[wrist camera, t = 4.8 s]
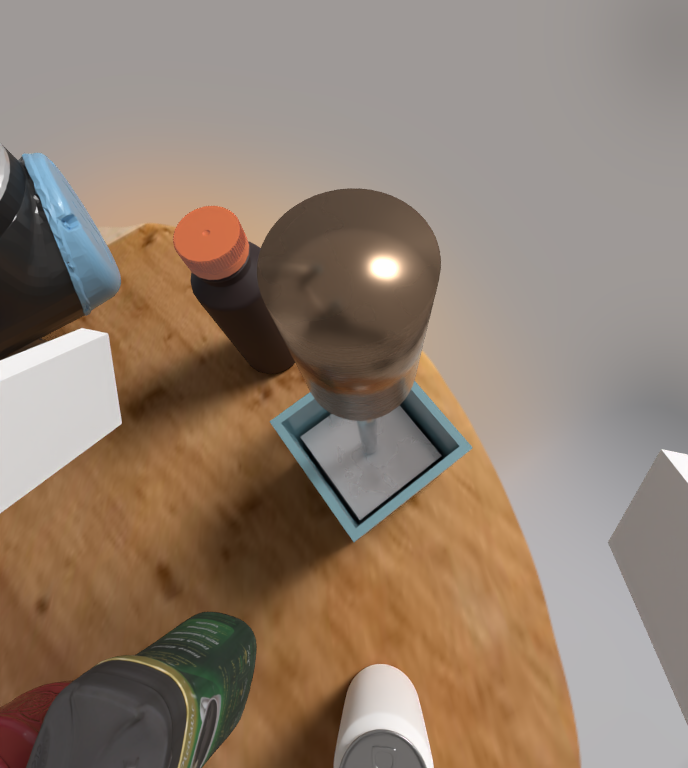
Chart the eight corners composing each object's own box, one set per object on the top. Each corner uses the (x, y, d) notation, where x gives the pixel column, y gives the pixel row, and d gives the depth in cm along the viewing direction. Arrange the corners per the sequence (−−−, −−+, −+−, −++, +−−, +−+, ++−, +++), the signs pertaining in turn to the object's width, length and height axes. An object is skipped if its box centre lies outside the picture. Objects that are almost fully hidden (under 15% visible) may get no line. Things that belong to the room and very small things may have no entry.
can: (342, 746, 36) (326, 849, 24) (347, 658, 38) (333, 716, 26) (419, 755, 35) (439, 865, 24) (420, 665, 37) (438, 727, 26)
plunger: (302, 438, 35) (128, 244, 11) (378, 382, 36) (376, 90, 12) (360, 520, 32) (306, 505, 8) (440, 457, 33) (597, 282, 9)
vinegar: (312, 358, 47) (269, 247, 28) (259, 385, 47) (177, 290, 28) (288, 311, 50) (231, 180, 31) (236, 337, 49) (146, 219, 30)
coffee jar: (189, 602, 40) (42, 661, 23) (267, 621, 39) (177, 699, 22) (156, 720, 37) (-42, 892, 20) (239, 744, 36) (108, 950, 19)
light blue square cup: (289, 432, 45) (247, 389, 31) (363, 378, 46) (356, 313, 32) (362, 536, 41) (353, 542, 27) (441, 473, 42) (472, 447, 28)
